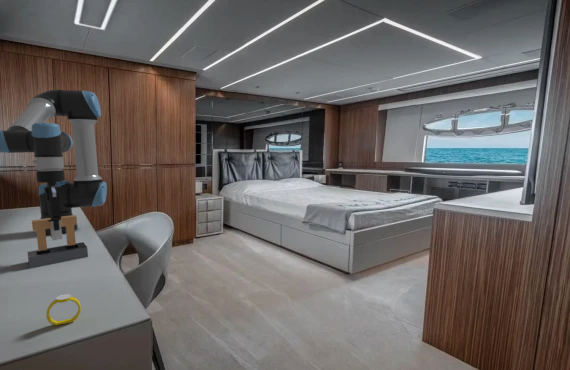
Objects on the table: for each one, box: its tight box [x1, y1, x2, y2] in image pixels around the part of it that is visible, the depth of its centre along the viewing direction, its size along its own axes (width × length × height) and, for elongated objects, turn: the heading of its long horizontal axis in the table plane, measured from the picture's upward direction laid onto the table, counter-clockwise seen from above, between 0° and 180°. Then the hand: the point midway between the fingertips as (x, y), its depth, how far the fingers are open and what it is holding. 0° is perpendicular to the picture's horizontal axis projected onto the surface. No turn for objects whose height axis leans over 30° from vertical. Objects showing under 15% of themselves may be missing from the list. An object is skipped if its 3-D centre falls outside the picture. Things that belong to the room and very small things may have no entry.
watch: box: [45, 293, 82, 326], centre depth 66 cm, size 6×3×6 cm, turn 122°
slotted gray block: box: [27, 241, 89, 269], centre depth 106 cm, size 16×8×4 cm, turn 132°
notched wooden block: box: [31, 214, 78, 251], centre depth 105 cm, size 12×3×10 cm, turn 132°
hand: (56, 238), depth 105 cm, fingers closed on notched wooden block, 3 cm apart
